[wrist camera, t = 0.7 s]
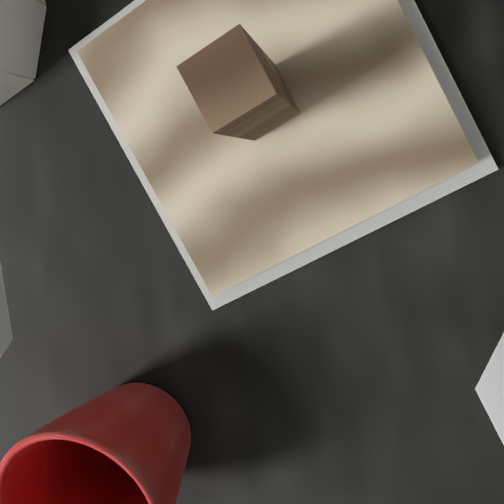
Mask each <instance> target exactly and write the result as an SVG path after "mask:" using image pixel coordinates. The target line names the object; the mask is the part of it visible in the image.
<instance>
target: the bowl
mask: <svg viewBox="0 0 504 504" xmlns="http://www.w3.org/2000/svg"><path fill="white" fill-rule="evenodd" d="M45 4H46V2H45V0H0V106H1V105H2V104H3V103H5V102H6V101H7V100H9V99H10V98H11V97H13V96H14V95H16V94H17V93H18V92H20V91H21V90H22V89H24V88H25V87H26V86H28V85H29V84H30V83H32V82H33V81H34V79H35V78H36V72H37V65H38V59H39V52H40V46H41V40H42V33H43V27H44V20H45V14H46V8H47V6H45ZM33 78H34V79H33Z"/></svg>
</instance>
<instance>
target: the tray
mask: <svg viewBox="0 0 504 504" xmlns="http://www.w3.org/2000/svg"><path fill="white" fill-rule="evenodd" d="M144 1H146V0H135V1H133V2H132V3H131V4H129V5H128V6H127V7H125V8H124V9H123V10H121V11H120V12H118V13H117V14H116V15H114V16H113V17H112V18H110V19H109V20H108V21H106V22H105V23H104V24H102V25H101V26H100V27H98V28H97V29H96V30H94V31H93V32H92V33H90V34H89V35H88V36H86V37H85V38H84V39H82V40H81V41H79V42H78V43H77V44H75V45H74V46H73V47H71V48H70V49H69V50H68V51H69V53H70V55H71V56H72V58H73V60H74V62H75V64H76V65H77V67H78V69H79V71H80V73H81V74H82V76H83V78H84V80H85V82H86V84H87V85H88V87H89V89H90V91H91V93H92V94H93V96H94V98H95V100H96V102H97V103H98V105H99V107H100V109H101V111H102V112H103V114H104V116H105V118H106V120H107V121H108V123H109V125H110V127H111V129H112V130H113V132H114V134H115V136H116V138H117V139H118V141H119V143H120V145H121V147H122V148H123V150H124V152H125V154H126V156H127V157H128V159H129V161H130V163H131V165H132V166H133V168H134V170H135V172H136V174H137V175H138V177H139V179H140V181H141V183H142V185H143V186H144V188H145V190H146V192H147V194H148V195H149V197H150V199H151V201H152V203H153V204H154V206H155V208H156V210H157V212H158V213H159V215H160V217H161V219H162V221H163V222H164V224H165V226H166V228H167V230H168V231H169V233H170V235H171V237H172V239H173V240H174V242H175V244H176V246H177V248H178V249H179V251H180V253H181V255H182V257H183V258H184V260H185V262H186V264H187V266H188V267H189V269H190V271H191V273H192V275H193V276H194V278H195V280H196V282H197V284H198V286H199V287H200V289H201V291H202V293H203V295H204V296H205V298H206V300H207V302H208V304H209V305H210V307H211V309H212V310H215V309H217V308H219V307H221V306H223V305H225V304H227V303H229V302H231V301H233V300H235V299H237V298H239V297H241V296H243V295H245V294H247V293H249V292H251V291H253V290H255V289H257V288H259V287H261V286H263V285H265V284H267V283H269V282H271V281H273V280H275V279H277V278H279V277H281V276H283V275H285V274H287V273H289V272H292V271H294V270H296V269H298V268H300V267H302V266H304V265H306V264H308V263H310V262H312V261H314V260H316V259H318V258H320V257H322V256H324V255H326V254H328V253H330V252H332V251H334V250H336V249H338V248H340V247H342V246H344V245H346V244H348V243H350V242H352V241H354V240H356V239H358V238H360V237H362V236H364V235H366V234H368V233H371V232H373V231H375V230H377V229H379V228H381V227H383V226H385V225H387V224H389V223H391V222H393V221H395V220H397V219H399V218H401V217H403V216H405V215H407V214H409V213H411V212H413V211H415V210H417V209H419V208H421V207H423V206H425V205H427V204H429V203H431V202H433V201H435V200H437V199H439V198H441V197H443V196H445V195H448V194H450V193H452V192H454V191H456V190H458V189H460V188H462V187H464V186H466V185H468V184H470V183H472V182H474V181H476V180H478V179H480V178H482V177H484V176H486V175H488V174H490V173H492V172H494V171H496V170H498V167H497V165H496V163H495V161H494V159H493V157H492V155H491V153H490V151H489V149H488V147H487V145H486V143H485V141H484V139H483V137H482V135H481V133H480V131H479V129H478V127H477V125H476V123H475V121H474V119H473V117H472V115H471V113H470V111H469V109H468V107H467V105H466V103H465V101H464V99H463V97H462V95H461V93H460V91H459V89H458V87H457V85H456V83H455V81H454V79H453V77H452V75H451V73H450V71H449V69H448V67H447V65H446V63H445V61H444V59H443V57H442V55H441V53H440V51H439V49H438V47H437V45H436V43H435V41H434V39H433V37H432V35H431V33H430V31H429V29H428V27H427V25H426V23H425V21H424V19H423V17H422V15H421V13H420V11H419V9H418V7H417V5H416V3H415V1H414V0H398V2H399V4H400V6H401V8H402V10H403V12H404V14H405V16H406V18H407V20H408V22H409V24H410V26H411V28H412V30H413V32H414V34H415V36H416V38H417V40H418V42H419V44H420V46H421V48H422V50H423V52H424V54H425V56H426V58H427V60H428V62H429V64H430V66H431V68H432V70H433V72H434V74H435V76H436V78H437V80H438V82H439V84H440V86H441V88H442V90H443V92H444V94H445V96H446V98H447V100H448V102H449V104H450V106H451V108H452V110H453V112H454V114H455V116H456V118H457V120H458V122H459V124H460V126H461V128H462V130H463V132H464V134H465V136H466V138H467V140H468V142H469V144H470V146H471V148H472V150H473V152H474V154H475V156H476V158H477V160H478V162H479V163H477V164H475V165H473V166H471V167H469V168H467V169H465V170H463V171H461V172H459V173H457V174H456V175H454V176H452V177H450V178H448V179H446V180H444V181H442V182H440V183H438V184H436V185H434V186H432V187H430V188H428V189H426V190H424V191H422V192H420V193H418V194H416V195H414V196H412V197H410V198H408V199H406V200H404V201H402V202H400V203H398V204H396V205H394V206H392V207H390V208H388V209H386V210H384V211H382V212H380V213H378V214H376V215H374V216H372V217H370V218H368V219H366V220H364V221H362V222H360V223H358V224H356V225H354V226H352V227H350V228H348V229H346V230H344V231H342V232H340V233H338V234H336V235H334V236H332V237H330V238H328V239H326V240H324V241H322V242H320V243H318V244H316V245H314V246H312V247H310V248H308V249H306V250H304V251H302V252H300V253H298V254H296V255H294V256H292V257H290V258H288V259H286V260H284V261H283V262H281V263H279V264H277V265H275V266H273V267H271V268H269V269H267V270H265V271H263V272H261V273H259V274H257V275H255V276H253V277H251V278H249V279H247V280H245V281H243V282H241V283H239V284H237V285H235V286H233V287H231V288H229V289H227V290H225V291H223V292H221V293H219V294H217V295H215V296H213V297H212V295H211V293H210V291H209V290H208V288H207V286H206V284H205V282H204V281H203V279H202V277H201V275H200V273H199V272H198V270H197V268H196V266H195V264H194V262H193V261H192V259H191V257H190V255H189V253H188V252H187V250H186V248H185V246H184V244H183V243H182V241H181V239H180V237H179V235H178V234H177V232H176V230H175V228H174V226H173V225H172V223H171V221H170V219H169V217H168V216H167V214H166V212H165V210H164V208H163V206H162V205H161V203H160V201H159V199H158V197H157V196H156V194H155V192H154V190H153V188H152V187H151V185H150V183H149V181H148V179H147V178H146V176H145V174H144V172H143V170H142V169H141V167H140V165H139V163H138V161H137V159H136V158H135V156H134V154H133V152H132V150H131V149H130V147H129V145H128V143H127V141H126V140H125V138H124V136H123V134H122V132H121V131H120V129H119V127H118V125H117V123H116V122H115V120H114V118H113V116H112V114H111V112H110V111H109V109H108V107H107V105H106V103H105V102H104V100H103V98H102V96H101V94H100V93H99V91H98V89H97V87H96V85H95V84H94V82H93V80H92V78H91V76H90V75H89V73H88V71H87V69H86V67H85V65H84V64H83V62H82V60H81V58H80V56H79V55H78V53H77V51H78V50H79V49H81V48H82V47H83V46H85V45H86V44H87V43H89V42H90V41H92V40H93V39H94V38H96V37H97V36H98V35H100V34H101V33H102V32H104V31H105V30H106V29H108V28H109V27H110V26H112V25H113V24H115V23H116V22H117V21H119V20H120V19H121V18H123V17H124V16H125V15H127V14H128V13H129V12H131V11H132V10H134V9H135V8H136V7H138V6H139V5H140V4H142V3H143V2H144Z"/></svg>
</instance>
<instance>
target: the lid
mask: <svg viewBox="0 0 504 504" xmlns="http://www.w3.org/2000/svg"><path fill="white" fill-rule="evenodd" d="M77 53H78V55H79V56H80V58H81V60H82V62H83V64H84V65H85V67H86V69H87V71H88V73H89V75H90V76H91V78H92V80H93V82H94V84H95V85H96V87H97V89H98V91H99V93H100V94H101V96H102V98H103V100H104V102H105V103H106V105H107V107H108V109H109V111H110V112H111V114H112V116H113V118H114V120H115V122H116V123H117V125H118V127H119V129H120V131H121V132H122V134H123V136H124V138H125V140H126V141H127V143H128V145H129V147H130V149H131V150H132V152H133V154H134V156H135V158H136V159H137V161H138V163H139V165H140V167H141V169H142V170H143V172H144V174H145V176H146V178H147V179H148V181H149V183H150V185H151V187H152V188H153V190H154V192H155V194H156V196H157V197H158V199H159V201H160V203H161V205H162V206H163V208H164V210H165V212H166V214H167V216H168V217H169V219H170V221H171V223H172V225H173V226H174V228H175V230H176V232H177V234H178V235H179V237H180V239H181V241H182V243H183V244H184V246H185V248H186V250H187V252H188V253H189V255H190V257H191V259H192V261H193V262H194V264H195V266H196V268H197V270H198V272H199V273H200V275H201V277H202V279H203V281H204V282H205V284H206V286H207V288H208V290H209V291H210V293H211V295H212V297H213V296H215V295H217V294H219V293H221V292H223V291H225V290H227V289H229V288H231V287H233V286H235V285H237V284H239V283H241V282H243V281H245V280H247V279H249V278H251V277H253V276H255V275H257V274H259V273H261V272H263V271H265V270H267V269H269V268H271V267H273V266H275V265H277V264H279V263H281V262H283V261H284V260H286V259H288V258H290V257H292V256H294V255H296V254H298V253H300V252H302V251H304V250H306V249H308V248H310V247H312V246H314V245H316V244H318V243H320V242H322V241H324V240H326V239H328V238H330V237H332V236H334V235H336V234H338V233H340V232H342V231H344V230H346V229H348V228H350V227H352V226H354V225H356V224H358V223H360V222H362V221H364V220H366V219H368V218H370V217H372V216H374V215H376V214H378V213H380V212H382V211H384V210H386V209H388V208H390V207H392V206H394V205H396V204H398V203H400V202H402V201H404V200H406V199H408V198H410V197H412V196H414V195H416V194H418V193H420V192H422V191H424V190H426V189H428V188H430V187H432V186H434V185H436V184H438V183H440V182H442V181H444V180H446V179H448V178H450V177H452V176H454V175H456V174H457V173H459V172H461V171H463V170H465V169H467V168H469V167H471V166H473V165H475V164H477V163H479V162H478V160H477V158H476V156H475V154H474V152H473V150H472V148H471V146H470V144H469V142H468V140H467V138H466V136H465V134H464V132H463V130H462V128H461V126H460V124H459V122H458V120H457V118H456V116H455V114H454V112H453V110H452V108H451V106H450V104H449V102H448V100H447V98H446V96H445V94H444V92H443V90H442V88H441V86H440V84H439V82H438V80H437V78H436V76H435V74H434V72H433V70H432V68H431V66H430V64H429V62H428V60H427V58H426V56H425V54H424V52H423V50H422V48H421V46H420V44H419V42H418V40H417V38H416V36H415V34H414V32H413V30H412V28H411V26H410V24H409V22H408V20H407V18H406V16H405V14H404V12H403V10H402V8H401V6H400V4H399V2H398V0H146V1H144V2H143V3H142V4H140V5H139V6H138V7H136V8H135V9H134V10H132V11H131V12H129V13H128V14H127V15H125V16H124V17H123V18H121V19H120V20H119V21H117V22H116V23H115V24H113V25H112V26H110V27H109V28H108V29H106V30H105V31H104V32H102V33H101V34H100V35H98V36H97V37H96V38H94V39H93V40H92V41H90V42H89V43H87V44H86V45H85V46H83V47H82V48H81V49H79V50H78V51H77Z"/></svg>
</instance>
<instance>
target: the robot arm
mask: <svg viewBox="0 0 504 504" xmlns="http://www.w3.org/2000/svg"><path fill="white" fill-rule="evenodd" d="M12 340H13V338H12V332H11V325H10V319H9V313H8V307H7V301H6V294H5V288H4V282H3V276H2V270H1V263H0V358H1V356H2V355H3V353H4V352H5V350H6V349H7V347H8V346H9V344H10V343H11V341H12ZM475 390H476V392H477V394H478V396H479V398H480V400H481V402H482V404H483V406H484V408H485V409H486V411H487V413H488V415H489V417H490V419H491V421H492V423H493V425H494V427H495V429H496V431H497V433H498V435H499V437H500V439H501V441H502V443H503V445H504V333H503V335H502V337H501V339H500V341H499V343H498V345H497V347H496V349H495V351H494V353H493V355H492V357H491V359H490V361H489V363H488V364H487V366H486V368H485V370H484V372H483V374H482V376H481V378H480V380H479V382H478V384H477V386H476V388H475Z"/></svg>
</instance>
